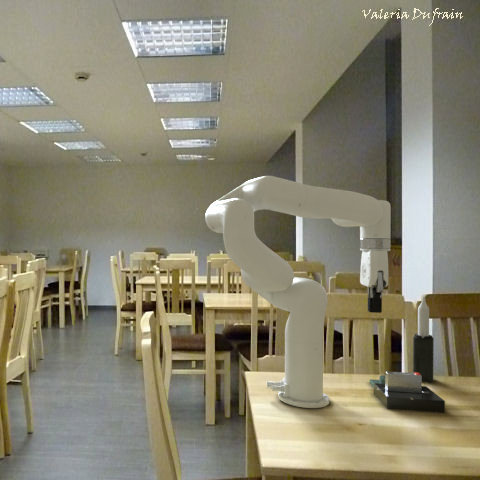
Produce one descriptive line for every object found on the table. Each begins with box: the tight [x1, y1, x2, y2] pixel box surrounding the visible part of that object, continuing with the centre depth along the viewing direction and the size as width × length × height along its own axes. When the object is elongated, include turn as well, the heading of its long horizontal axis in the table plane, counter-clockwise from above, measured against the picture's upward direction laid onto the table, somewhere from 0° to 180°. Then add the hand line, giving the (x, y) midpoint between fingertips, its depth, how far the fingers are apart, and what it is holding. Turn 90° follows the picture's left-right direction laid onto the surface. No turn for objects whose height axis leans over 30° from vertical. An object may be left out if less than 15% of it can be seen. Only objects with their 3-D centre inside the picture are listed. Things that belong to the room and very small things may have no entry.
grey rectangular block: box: [384, 371, 423, 393], centre depth 113 cm, size 8×2×5 cm, turn 80°
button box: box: [369, 374, 385, 388], centre depth 124 cm, size 10×8×3 cm
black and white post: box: [412, 296, 435, 384], centre depth 133 cm, size 5×5×25 cm
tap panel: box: [373, 383, 446, 414], centre depth 113 cm, size 14×12×3 cm
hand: (374, 311), depth 121 cm, fingers closed
